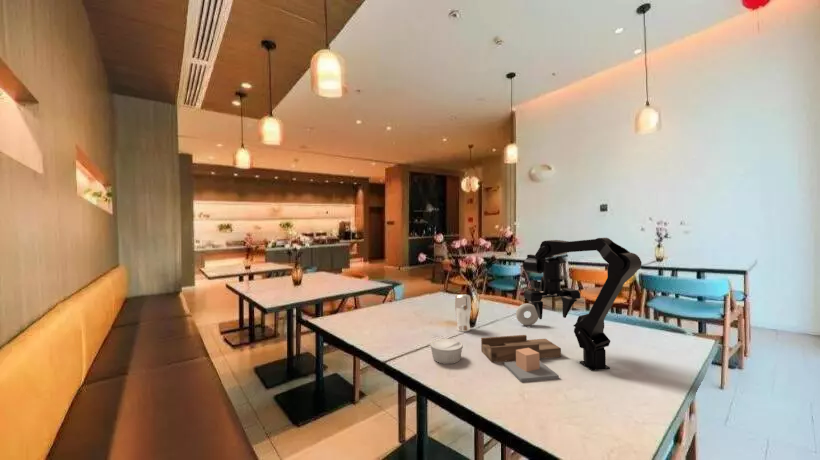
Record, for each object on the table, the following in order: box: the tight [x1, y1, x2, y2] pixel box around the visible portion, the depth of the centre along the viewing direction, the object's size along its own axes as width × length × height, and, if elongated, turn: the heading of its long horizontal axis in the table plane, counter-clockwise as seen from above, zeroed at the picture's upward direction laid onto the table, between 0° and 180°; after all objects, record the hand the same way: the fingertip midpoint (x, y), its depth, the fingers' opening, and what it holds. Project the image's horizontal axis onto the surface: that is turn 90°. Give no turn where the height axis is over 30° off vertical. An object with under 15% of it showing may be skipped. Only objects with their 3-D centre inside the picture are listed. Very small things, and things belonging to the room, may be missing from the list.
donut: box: [515, 303, 539, 327], centre depth 153 cm, size 10×4×10 cm, turn 85°
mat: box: [503, 360, 560, 383], centre depth 106 cm, size 12×12×1 cm
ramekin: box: [429, 338, 464, 365], centre depth 118 cm, size 11×11×5 cm
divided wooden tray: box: [480, 334, 562, 363], centre depth 120 cm, size 10×25×5 cm, turn 98°
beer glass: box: [454, 293, 472, 333], centre depth 149 cm, size 7×7×15 cm
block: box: [516, 348, 541, 372], centre depth 107 cm, size 5×5×5 cm
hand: (552, 318), depth 122 cm, fingers open, 9 cm apart
